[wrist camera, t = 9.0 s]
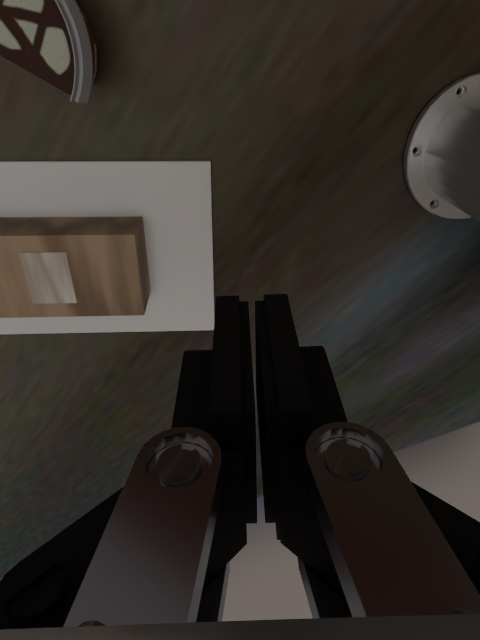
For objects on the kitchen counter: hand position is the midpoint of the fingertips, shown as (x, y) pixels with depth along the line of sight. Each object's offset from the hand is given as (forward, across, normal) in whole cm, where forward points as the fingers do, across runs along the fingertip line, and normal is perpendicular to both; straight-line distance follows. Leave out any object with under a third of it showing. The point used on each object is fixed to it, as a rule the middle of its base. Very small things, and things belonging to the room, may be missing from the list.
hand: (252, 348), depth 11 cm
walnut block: (+29, +9, +10) cm, 33 cm away
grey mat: (+32, +15, +10) cm, 37 cm away
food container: (+32, +14, -10) cm, 37 cm away
